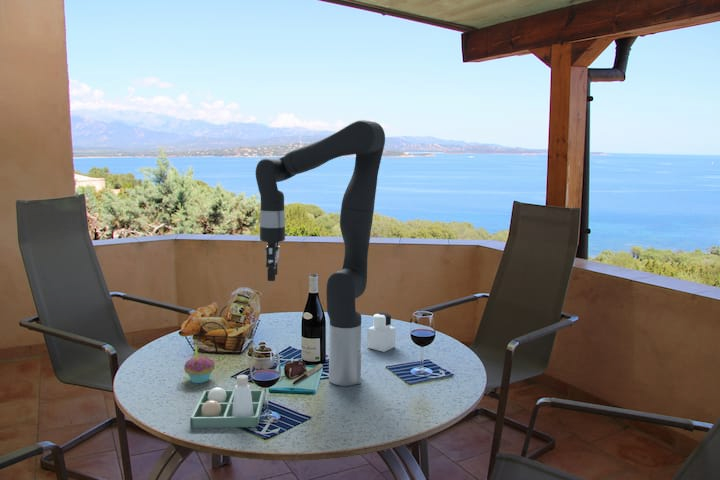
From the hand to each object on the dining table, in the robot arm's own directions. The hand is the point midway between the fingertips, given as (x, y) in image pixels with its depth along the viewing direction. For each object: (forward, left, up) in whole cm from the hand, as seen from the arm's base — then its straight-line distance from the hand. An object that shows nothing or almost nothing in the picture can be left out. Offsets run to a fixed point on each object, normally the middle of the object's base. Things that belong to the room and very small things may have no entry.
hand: (272, 277), depth 167 cm
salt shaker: (+4, +37, -28) cm, 46 cm away
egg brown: (+12, +37, -28) cm, 47 cm away
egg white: (+12, +29, -28) cm, 42 cm away
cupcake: (+20, +12, -28) cm, 37 cm away
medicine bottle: (-36, -16, -28) cm, 49 cm away
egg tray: (+8, +33, -28) cm, 44 cm away
